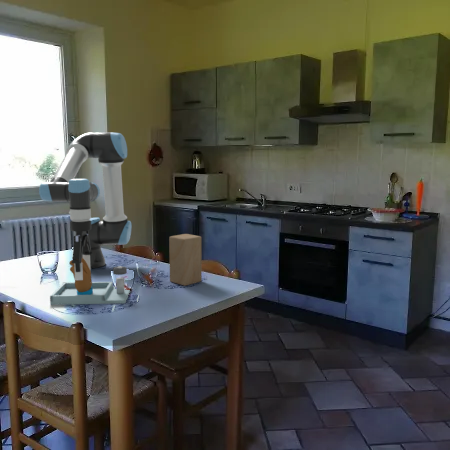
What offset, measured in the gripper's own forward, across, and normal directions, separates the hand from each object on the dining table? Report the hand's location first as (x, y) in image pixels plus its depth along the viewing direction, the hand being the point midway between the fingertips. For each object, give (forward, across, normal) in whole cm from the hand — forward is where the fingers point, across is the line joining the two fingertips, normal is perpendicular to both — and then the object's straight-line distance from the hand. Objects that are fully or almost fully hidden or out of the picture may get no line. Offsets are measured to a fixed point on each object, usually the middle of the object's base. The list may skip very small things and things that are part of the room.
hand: (83, 275), depth 174 cm
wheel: (-1, 0, +14) cm, 14 cm away
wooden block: (+9, -19, +39) cm, 44 cm away
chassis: (+8, 0, +4) cm, 9 cm away
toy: (+7, 0, 0) cm, 7 cm away
